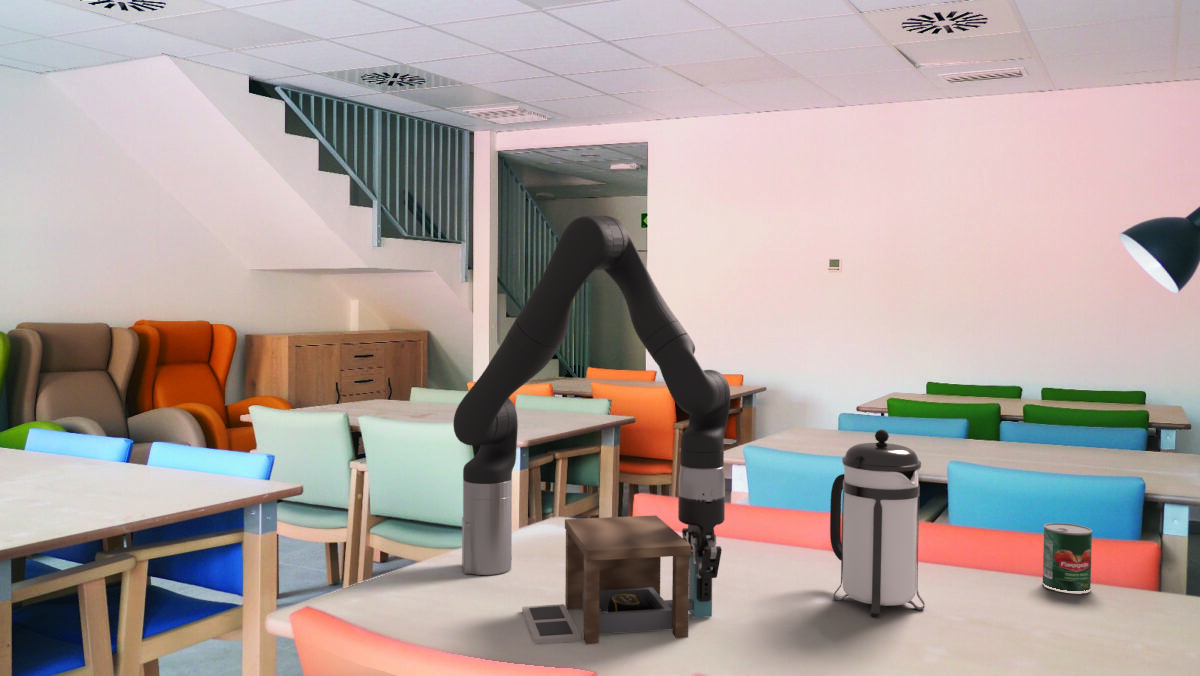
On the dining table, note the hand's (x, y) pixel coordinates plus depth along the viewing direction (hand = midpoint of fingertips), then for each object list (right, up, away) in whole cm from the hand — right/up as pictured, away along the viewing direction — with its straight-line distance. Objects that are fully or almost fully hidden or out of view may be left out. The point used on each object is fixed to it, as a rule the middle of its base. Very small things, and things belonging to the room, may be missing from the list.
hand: (700, 596), depth 153 cm
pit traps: (-24, -3, -5) cm, 25 cm away
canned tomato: (+68, -3, +17) cm, 70 cm away
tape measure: (-11, -4, -2) cm, 12 cm away
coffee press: (+30, -3, +8) cm, 31 cm away
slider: (-8, -3, -2) cm, 9 cm away
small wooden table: (-13, -3, -3) cm, 13 cm away
